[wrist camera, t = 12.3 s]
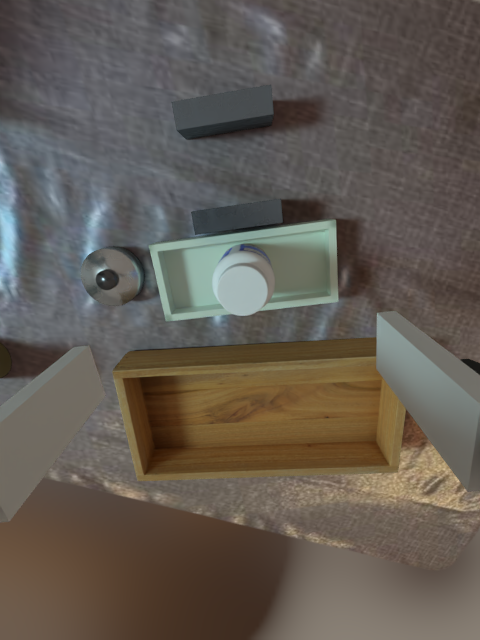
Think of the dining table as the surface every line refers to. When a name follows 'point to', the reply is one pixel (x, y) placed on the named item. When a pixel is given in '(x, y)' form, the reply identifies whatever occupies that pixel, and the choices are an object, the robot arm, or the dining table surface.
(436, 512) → the dining table surface
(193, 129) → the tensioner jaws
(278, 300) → the tray
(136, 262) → the silver pot lid
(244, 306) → the pill bottle
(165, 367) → the tray
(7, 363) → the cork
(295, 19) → the dining table surface
